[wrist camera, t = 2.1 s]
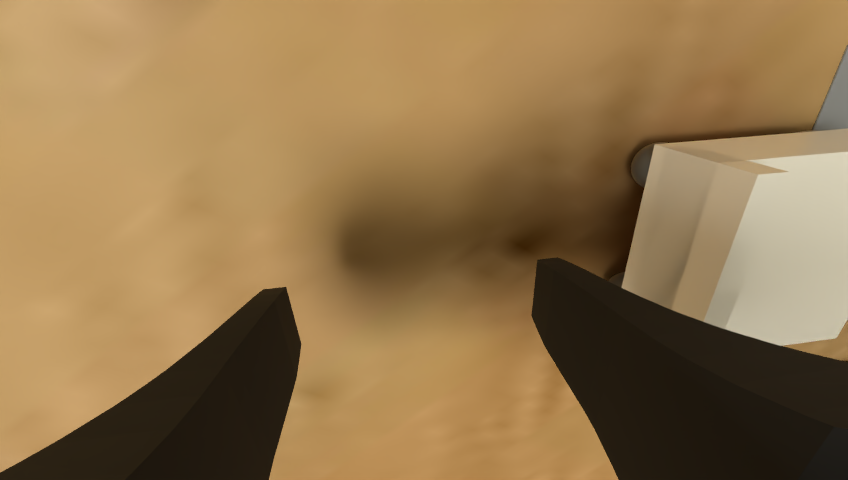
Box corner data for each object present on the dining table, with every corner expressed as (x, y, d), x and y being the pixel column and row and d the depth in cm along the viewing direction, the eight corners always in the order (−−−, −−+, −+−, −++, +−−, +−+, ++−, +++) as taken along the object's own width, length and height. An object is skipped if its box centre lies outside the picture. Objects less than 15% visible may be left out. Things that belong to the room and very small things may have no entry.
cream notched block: (745, 282, 16) (876, 360, 12) (594, 300, 16) (675, 388, 11) (811, 122, 13) (1019, 150, 9) (626, 137, 13) (754, 174, 8)
